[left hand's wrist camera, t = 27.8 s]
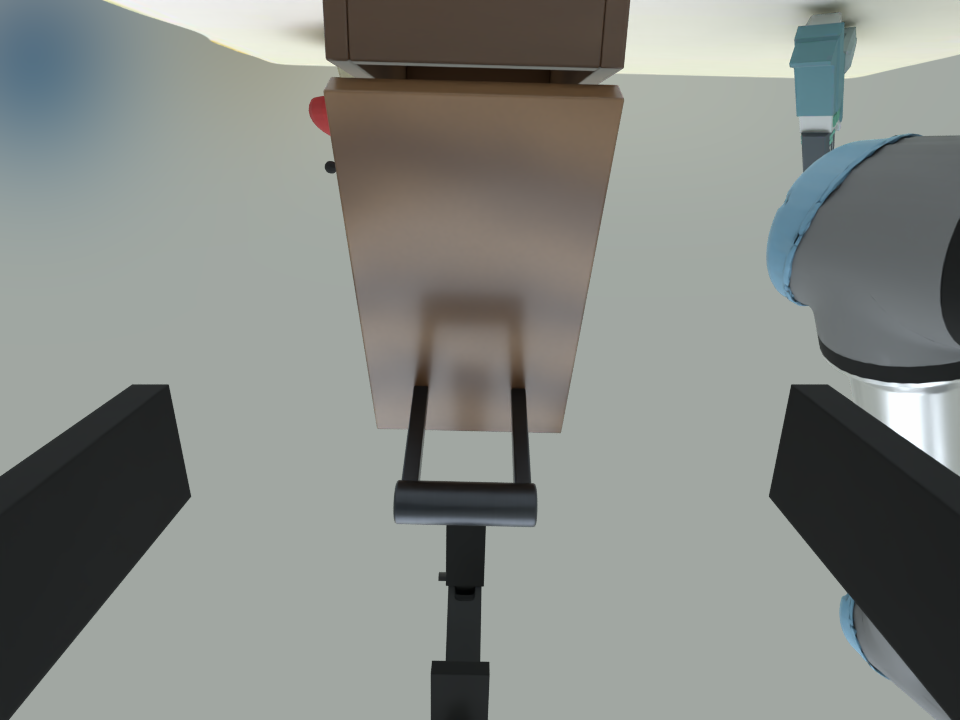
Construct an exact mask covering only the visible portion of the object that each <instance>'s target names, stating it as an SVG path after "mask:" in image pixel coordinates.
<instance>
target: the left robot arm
mask: <svg viewBox="0 0 960 720" xmlns="http://www.w3.org/2000/svg"><path fill="white" fill-rule="evenodd" d="M190 497H191V494H190V489H189V484H188V479H187V474H186V469H185V464H184V459H183V454H182V449H181V444H180V439H179V434H178V429H177V424H176V419H175V414H174V409H173V404H172V399H171V394H170V389H169V385H131V386H129V387H128V388H127V389H125V390H124V391H122V392H121V393H119V394H118V395H117V396H115V397H114V398H112V399H111V400H109V401H108V402H106V403H105V404H104V405H102V406H101V407H99V408H98V409H96V410H95V411H94V412H92V413H91V414H89V415H88V416H86V417H85V418H83V419H82V420H81V421H79V422H78V423H76V424H75V425H73V426H72V427H71V428H69V429H68V430H66V431H65V432H63V433H62V434H60V435H59V436H58V437H56V438H55V439H53V440H52V441H50V442H49V443H48V444H46V445H45V446H43V447H42V448H40V449H39V450H37V451H36V452H35V453H33V454H32V455H30V456H29V457H27V458H26V459H25V460H23V461H22V462H20V463H19V464H17V465H16V466H15V467H13V468H12V469H10V470H9V471H7V472H6V473H4V474H3V475H2V476H0V720H9V719H10V718H11V717H12V715H13V714H14V713H15V712H16V710H17V709H18V708H19V707H20V705H21V704H22V703H23V702H24V701H25V699H26V698H27V697H28V696H29V694H30V693H31V692H32V691H33V690H34V688H35V687H36V686H37V685H38V683H39V682H40V681H41V680H42V678H43V677H44V676H45V675H46V674H47V672H48V671H49V670H50V669H51V668H52V666H53V665H54V664H55V663H56V661H57V660H58V659H59V658H60V657H61V655H62V654H63V653H64V652H65V650H66V649H67V648H68V647H69V645H70V644H71V643H72V642H73V640H74V639H75V638H76V637H77V636H78V634H79V633H80V632H81V631H82V630H83V628H84V627H85V626H86V625H87V623H88V622H89V621H90V620H91V619H92V617H93V616H94V615H95V614H96V612H97V611H98V610H99V609H100V608H101V606H102V605H103V604H104V603H105V601H106V600H107V599H108V598H109V596H110V595H111V594H112V593H113V592H114V590H115V589H116V588H117V587H118V585H119V584H120V583H121V582H122V581H123V579H124V578H125V577H126V576H127V574H128V573H129V572H130V571H131V570H132V568H133V567H134V566H135V565H136V563H137V562H138V561H139V560H140V559H141V557H142V556H143V555H144V554H145V552H146V551H147V550H148V549H149V547H150V546H151V545H152V544H153V543H154V541H155V540H156V539H157V538H158V536H159V535H160V534H161V533H162V532H163V530H164V529H165V528H166V527H167V525H168V524H169V523H170V522H171V520H172V519H173V518H174V517H175V516H176V514H177V513H178V512H179V511H180V509H181V508H182V507H183V506H184V505H185V503H186V502H187V501H188V500H189V498H190ZM769 497H770V498H771V500H772V501H773V502H774V503H775V505H776V506H777V507H778V508H779V509H780V511H781V512H782V513H783V514H784V516H785V517H786V518H787V519H788V521H789V522H790V523H791V524H792V525H793V527H794V528H795V529H796V530H797V532H798V533H799V534H800V535H801V536H802V538H803V539H804V540H805V541H806V543H807V544H808V545H809V546H810V547H811V549H812V550H813V551H814V552H815V554H816V555H817V556H818V557H819V559H820V560H821V561H822V562H823V563H824V565H825V566H826V567H827V568H828V569H829V571H830V572H831V573H832V574H833V576H834V577H835V578H836V579H837V581H838V582H839V583H840V584H841V585H842V587H843V588H844V589H845V590H846V592H847V593H848V594H849V595H850V597H851V598H852V599H853V600H854V601H855V603H856V604H857V605H858V606H859V608H860V609H861V610H862V611H863V612H864V614H865V615H866V616H867V617H868V619H869V620H870V621H871V622H872V623H873V625H874V626H875V627H876V628H877V630H878V631H879V632H880V633H881V634H882V636H883V637H884V638H885V639H886V641H887V642H888V643H889V644H890V645H891V647H892V648H893V649H894V650H895V652H896V653H897V654H898V655H899V657H900V658H901V659H902V660H903V661H904V663H905V664H906V665H907V666H908V668H909V669H910V670H911V671H912V672H913V674H914V675H915V676H916V677H917V679H918V680H919V681H920V682H921V683H922V685H923V686H924V687H925V688H926V690H927V691H928V692H929V693H930V694H931V696H932V697H933V698H934V699H935V701H936V702H937V703H938V704H939V706H940V707H941V708H942V709H943V710H944V712H945V713H946V714H947V715H948V717H949V718H950V719H951V720H960V476H958V475H957V474H956V473H954V472H953V471H951V470H950V469H948V468H947V467H946V466H944V465H943V464H941V463H940V462H938V461H937V460H935V459H934V458H933V457H931V456H930V455H928V454H927V453H925V452H924V451H923V450H921V449H920V448H918V447H917V446H915V445H914V444H912V443H911V442H910V441H908V440H907V439H905V438H904V437H902V436H901V435H900V434H898V433H897V432H895V431H894V430H892V429H891V428H889V427H888V426H887V425H885V424H884V423H882V422H881V421H879V420H878V419H877V418H875V417H874V416H872V415H871V414H869V413H868V412H866V411H865V410H864V409H862V408H861V407H859V406H858V405H856V404H855V403H854V402H852V401H851V400H849V399H848V398H846V397H845V396H843V395H842V394H841V393H839V392H838V391H836V390H835V389H833V388H832V387H831V386H829V385H791V389H790V394H789V399H788V404H787V409H786V414H785V419H784V424H783V429H782V434H781V439H780V444H779V449H778V454H777V459H776V464H775V469H774V474H773V479H772V484H771V489H770V494H769Z"/></svg>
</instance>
